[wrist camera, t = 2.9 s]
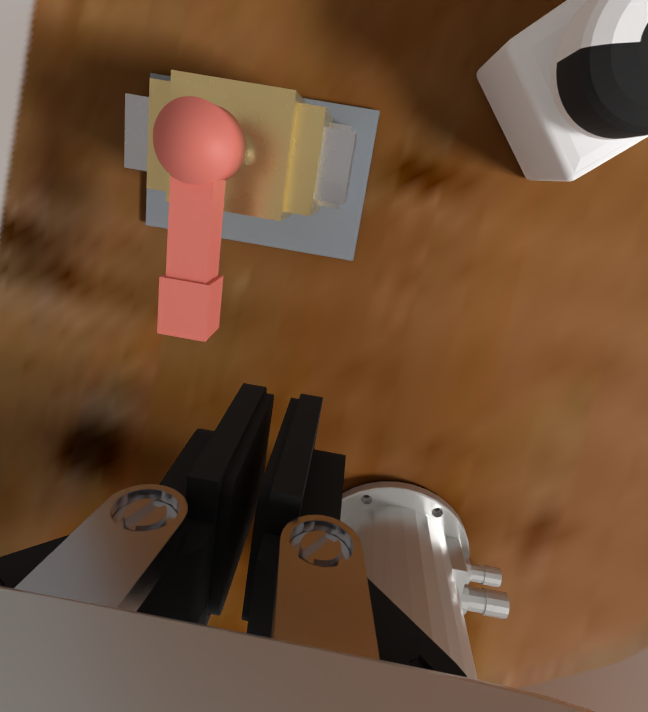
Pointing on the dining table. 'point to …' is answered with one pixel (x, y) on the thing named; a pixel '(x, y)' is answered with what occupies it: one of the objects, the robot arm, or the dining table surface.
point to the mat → (299, 232)
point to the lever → (195, 211)
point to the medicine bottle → (572, 87)
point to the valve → (255, 145)
